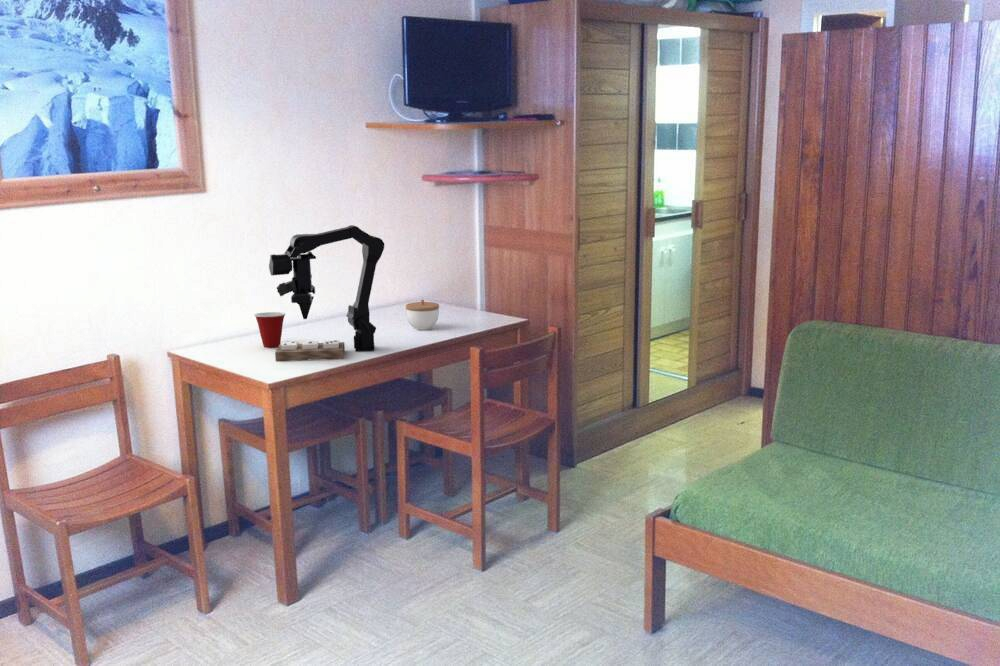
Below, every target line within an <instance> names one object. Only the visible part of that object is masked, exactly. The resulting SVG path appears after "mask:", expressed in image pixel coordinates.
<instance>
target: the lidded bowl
mask: <svg viewBox="0 0 1000 666" xmlns="http://www.w3.org/2000/svg"><path fill="white" fill-rule="evenodd" d="M405 309H406V310H405V311H406V318H407V319H406V320H407V321H408V323H409V325H410V326H411V327H412V328H413V330H415V329H418V330H417V331H428V329H429V330H432V329H433V327H434V326H435V325H436V324H437V322H438V319H439V316H440V304H439V303H436V302H431V301H425V299H420V301H416V302H410V303H407V304H406V305H405ZM431 328H432V329H431Z"/></svg>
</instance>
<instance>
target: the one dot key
mask: <svg viewBox="0 0 1000 666" xmlns="http://www.w3.org/2000/svg"><path fill="white" fill-rule="evenodd" d="M318 343H319V340H310V341H309V340H307V341H306V340H305V341H303V342H302V343H301V344H302V349H318V346H319V344H318Z"/></svg>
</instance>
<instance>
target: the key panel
mask: <svg viewBox="0 0 1000 666" xmlns="http://www.w3.org/2000/svg"><path fill="white" fill-rule="evenodd" d="M323 343H324V342H318V344H319V346H318V349H302V344H303V343H298V347H297V350H281V344H282V343H280V344H279V346H278V347H276V350H275V352H274V355H275V356H274V357H275V358H274V359H275V362H289V361H288V360H298V361H309V360H308V359H327V360H343V359H344V356H345V352H346V350H345V342H344V341H343V342H342V341H339V348H328V349H323ZM344 351H345V352H344Z"/></svg>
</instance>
